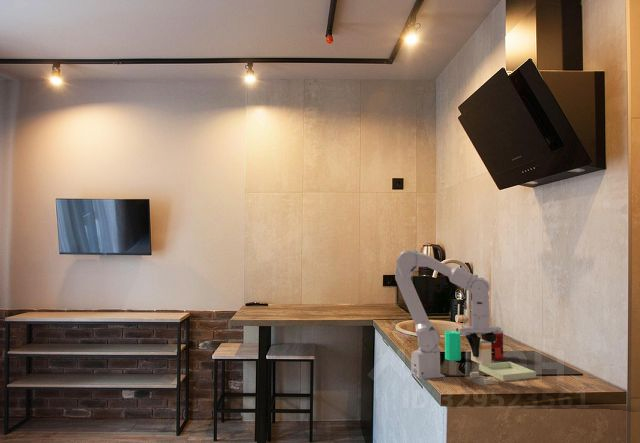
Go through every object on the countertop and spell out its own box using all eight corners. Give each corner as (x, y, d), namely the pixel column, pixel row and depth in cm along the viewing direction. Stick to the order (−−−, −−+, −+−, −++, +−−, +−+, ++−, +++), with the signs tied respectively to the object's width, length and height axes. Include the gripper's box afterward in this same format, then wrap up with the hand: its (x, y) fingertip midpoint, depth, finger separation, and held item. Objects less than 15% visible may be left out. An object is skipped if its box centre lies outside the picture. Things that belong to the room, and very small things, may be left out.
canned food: (477, 356, 180) (477, 328, 180) (493, 354, 182) (493, 327, 183) (491, 361, 172) (490, 332, 173) (507, 359, 175) (507, 331, 176)
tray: (503, 382, 147) (503, 375, 147) (479, 371, 159) (478, 364, 159) (536, 379, 150) (536, 371, 150) (509, 368, 163) (509, 361, 163)
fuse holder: (480, 387, 142) (480, 380, 142) (464, 378, 151) (464, 372, 151) (499, 385, 144) (499, 378, 144) (482, 377, 153) (481, 370, 153)
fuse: (482, 365, 144) (481, 343, 144) (470, 360, 150) (470, 339, 150) (491, 364, 145) (491, 342, 145) (480, 359, 151) (479, 338, 151)
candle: (461, 361, 172) (461, 330, 173) (445, 360, 174) (445, 329, 174) (460, 357, 178) (459, 327, 179) (444, 356, 180) (444, 326, 180)
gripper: (468, 318, 142) (469, 360, 142) (507, 315, 146) (507, 357, 146) (456, 314, 149) (456, 355, 149) (493, 312, 153) (493, 352, 152)
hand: (481, 356), depth 148 cm, fingers closed on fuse, 3 cm apart
